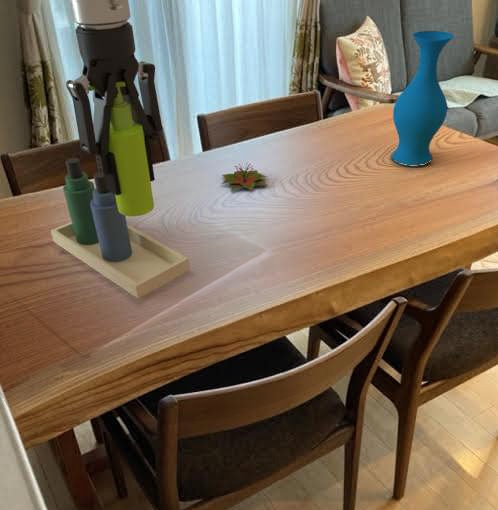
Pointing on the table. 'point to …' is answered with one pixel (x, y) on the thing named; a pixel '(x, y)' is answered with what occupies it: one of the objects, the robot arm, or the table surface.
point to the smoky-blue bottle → (109, 223)
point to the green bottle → (80, 202)
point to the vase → (421, 103)
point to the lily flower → (244, 179)
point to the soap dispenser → (129, 159)
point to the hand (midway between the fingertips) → (131, 184)
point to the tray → (128, 260)
